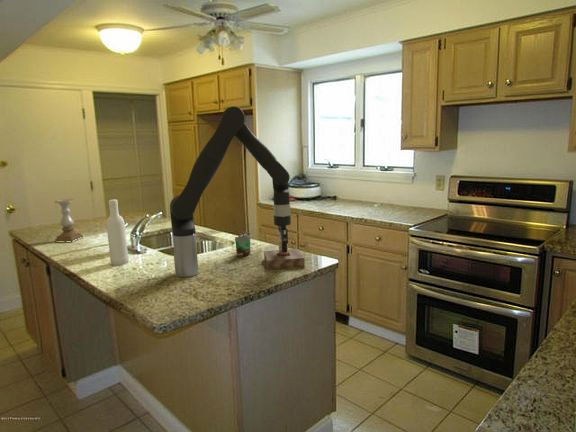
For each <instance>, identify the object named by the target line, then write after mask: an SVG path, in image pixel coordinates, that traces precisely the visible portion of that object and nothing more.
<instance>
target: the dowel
mask: <svg viewBox="0 0 576 432" xmlns="http://www.w3.org/2000/svg"><path fill="white" fill-rule="evenodd" d="M277 238H278V239H277V240H278V250H279V256H288V249H289V248H288V247H289V245H288V244H289V242H288V243H287V252H282V243H281V240H280V236H279V237H278V236H277ZM283 241H286V240H285V239H283Z"/></svg>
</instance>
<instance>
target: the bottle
mask: <svg viewBox="0 0 576 432" xmlns="http://www.w3.org/2000/svg"><path fill="white" fill-rule="evenodd" d="M118 204H119V201H118V199H115V198H114V199H110V200H108V205H109V206H108V207H109V213H110V214H109V216H108V218H107V219H106V222H105V223H106V232H107V233H106V234H107V241H108V242H107V243H108V248H109V250H108V251H109V261H110V265H111V264H112V265H111V266H114V265H118V266H123V265H122V264H124V265H127V264H129V252H128V242H127V233H126V223H125V220H124V218H123V216H121V214H119V213H120V212H119V205H118ZM126 263H127V264H126Z"/></svg>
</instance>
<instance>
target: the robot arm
mask: <svg viewBox="0 0 576 432" xmlns="http://www.w3.org/2000/svg"><path fill="white" fill-rule="evenodd" d="M245 117H246V116H245V113H244V111H243V110H242V108H240V107H239V106H235V105H233V106H229V107H227V108H226V109H225V110H224V111H223V113H222V115H221V119H220V121H219V123H218V126H216V127H217V128H216V129H215V132H214V133H213V135H212V136H211V137H210V139H209V140H208V141H207V143H206V144H205V145H204V147H203V148H202V150H201V151H200V152H199V155H198V157H197V158H196V160H195V162H194V164H193V166H192V169H191V172H190V174H189V177H188V180H187V183H186V184H185V187H184V188H183V189H182V191H181V192H180V194H179V195H177V196H174V197H173V198H172V199H171V201H170V204H169V215H170V221H171V222H170V224H171V230H172V231H171V232H172V238H173V239H172V240H173V242H172V243H173V251H174V252H173V262H174V275H175V277H180V278H188V277H189V278H190V277H194V276H195V275H198V274H199V262H198V261H199V260H198V248H197V247H198V246H197V245H198V244H197V234H196V226H195V222H194V221H195V220H194V214H195V211H196V209H197V206H198V204H199V201H200V199H201V197H202V196H203V193H204V192H205V190H206V188H207V187H208V185H209V184H210V183H211V181H212V179H213V177H214V176H215V174H216V172H217V171H218V169H219V167H220V166H221V164H222V162H223V160H224V157H225V155H226V153H227V150H228V149H229V146H230V144H231V142H232V141H233V139H234V137H235V138H236V139H238V140H239V142H240V143H241V144H242V145H243V146H244V147H245V148H246V149H247V151H248V152H249V153H250V154H251V156H252V157H253V158H254V160H255V161H256V162H257V163H258V164H259V165H260V166H261V167H262V168H263V170H265V171H266V173H268V175H269V176H270V178H271V179H272V181H271V182H272V189H273V211H272V213H273V225H274V226H277V238H278V237H279V236H280V240H281V243H282V252H287V243H288V244H289V235H288V233H289V230H288V228H287V226H290V225H291V224H292V215H291V211H292V210H291V202H290V201H291V199H290V191H289V182H290V179H291V177H290V174H289V172H288V170H287V169H286V168H285V167H284V166H283V164H281V163H280V162H279V161H278V159H277V157H276V156H275V155H274V153H272V151H271V150H270V149H269V148H268V147H267V146H266V145H265V143H263V142H262V141H261V140H260V138H258V137H257V136H256V135H255V134H253V132H252V131H251V130H250V129H249V127H248V126H247V124H246V123H245V121H246V120H245ZM283 239H285V240H286V241H283Z"/></svg>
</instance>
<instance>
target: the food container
mask: <svg viewBox="0 0 576 432" xmlns="http://www.w3.org/2000/svg"><path fill="white" fill-rule="evenodd" d="M252 237H253V236H252V235H251V232H248V231H242V233H241V234H239V235H238V236H235V237H234V242H235V248H236V249H235V251H236V257H237V258H240V257H241V258H242V257H247V256H249V255H251V239H252Z"/></svg>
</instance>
